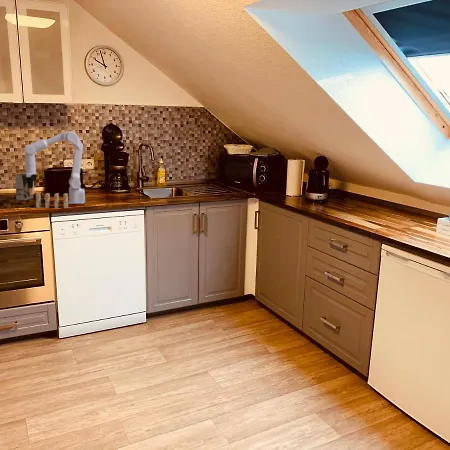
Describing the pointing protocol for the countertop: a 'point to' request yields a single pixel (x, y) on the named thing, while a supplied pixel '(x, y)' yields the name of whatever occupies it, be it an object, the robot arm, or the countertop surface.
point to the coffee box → (22, 188)
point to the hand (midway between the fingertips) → (31, 187)
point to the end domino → (32, 190)
